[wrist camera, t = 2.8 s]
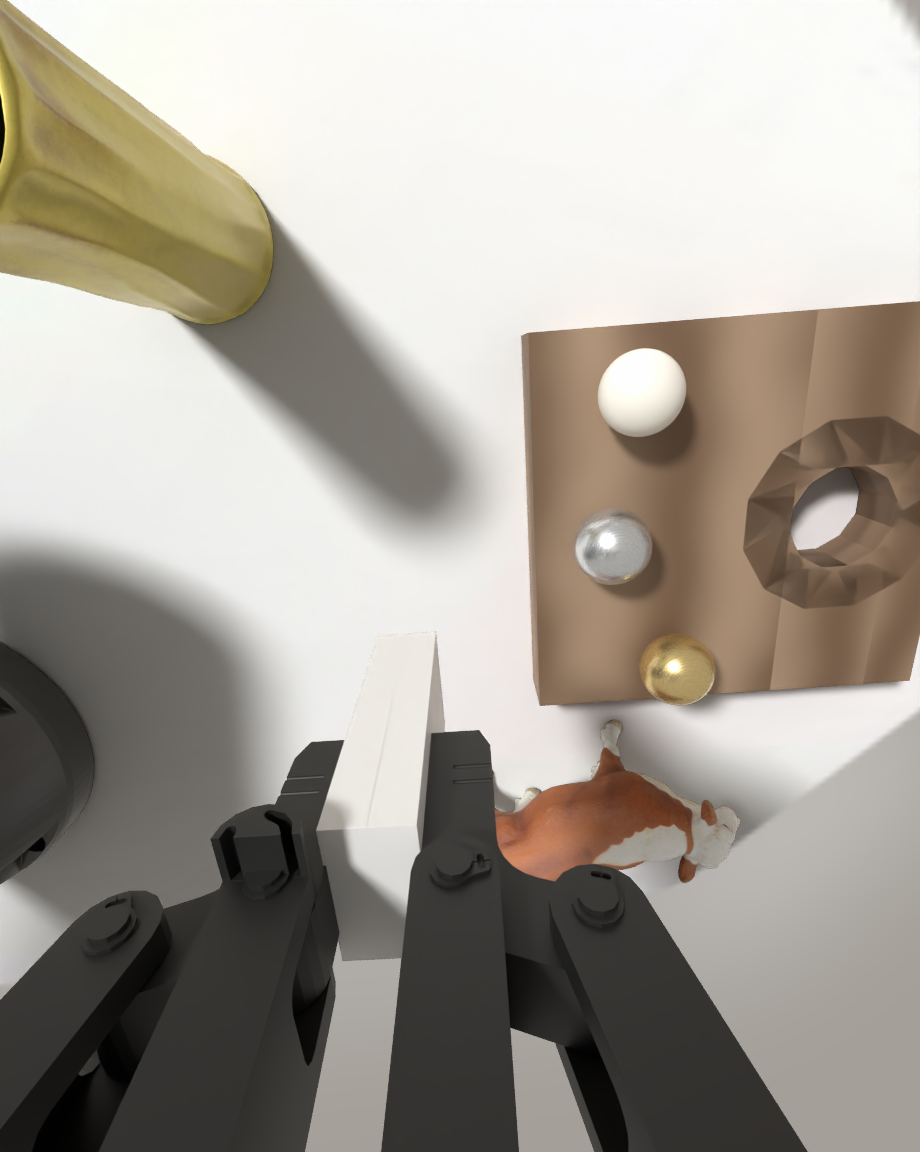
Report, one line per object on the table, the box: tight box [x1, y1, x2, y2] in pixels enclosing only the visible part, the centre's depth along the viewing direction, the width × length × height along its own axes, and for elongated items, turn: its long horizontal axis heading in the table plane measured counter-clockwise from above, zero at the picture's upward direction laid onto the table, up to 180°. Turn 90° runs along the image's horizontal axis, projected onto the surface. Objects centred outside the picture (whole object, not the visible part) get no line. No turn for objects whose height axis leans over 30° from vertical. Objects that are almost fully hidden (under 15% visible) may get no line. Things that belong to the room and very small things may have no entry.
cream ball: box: [598, 348, 686, 437], centre depth 22 cm, size 3×3×3 cm
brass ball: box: [639, 633, 716, 705], centre depth 26 cm, size 3×3×3 cm
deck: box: [521, 301, 920, 706], centre depth 27 cm, size 18×17×2 cm
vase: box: [0, 0, 273, 324], centre depth 17 cm, size 6×6×14 cm
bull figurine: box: [492, 720, 740, 883], centre depth 29 cm, size 4×13×8 cm, turn 108°
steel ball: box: [573, 508, 653, 585], centre depth 24 cm, size 3×3×3 cm
